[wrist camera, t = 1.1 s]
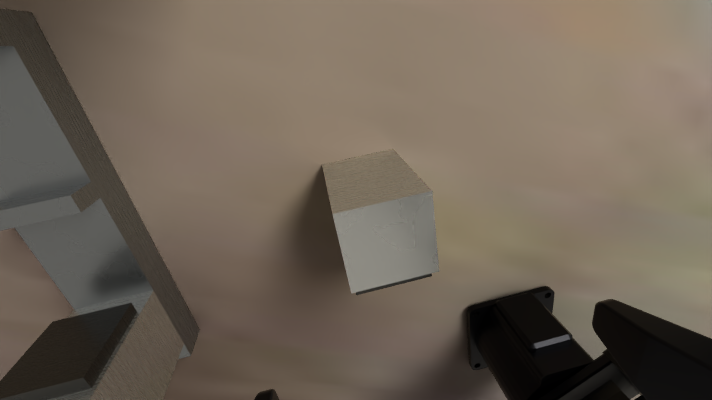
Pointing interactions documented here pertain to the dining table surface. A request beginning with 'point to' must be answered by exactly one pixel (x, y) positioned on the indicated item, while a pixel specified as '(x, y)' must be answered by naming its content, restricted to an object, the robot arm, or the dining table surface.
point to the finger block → (382, 220)
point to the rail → (80, 241)
